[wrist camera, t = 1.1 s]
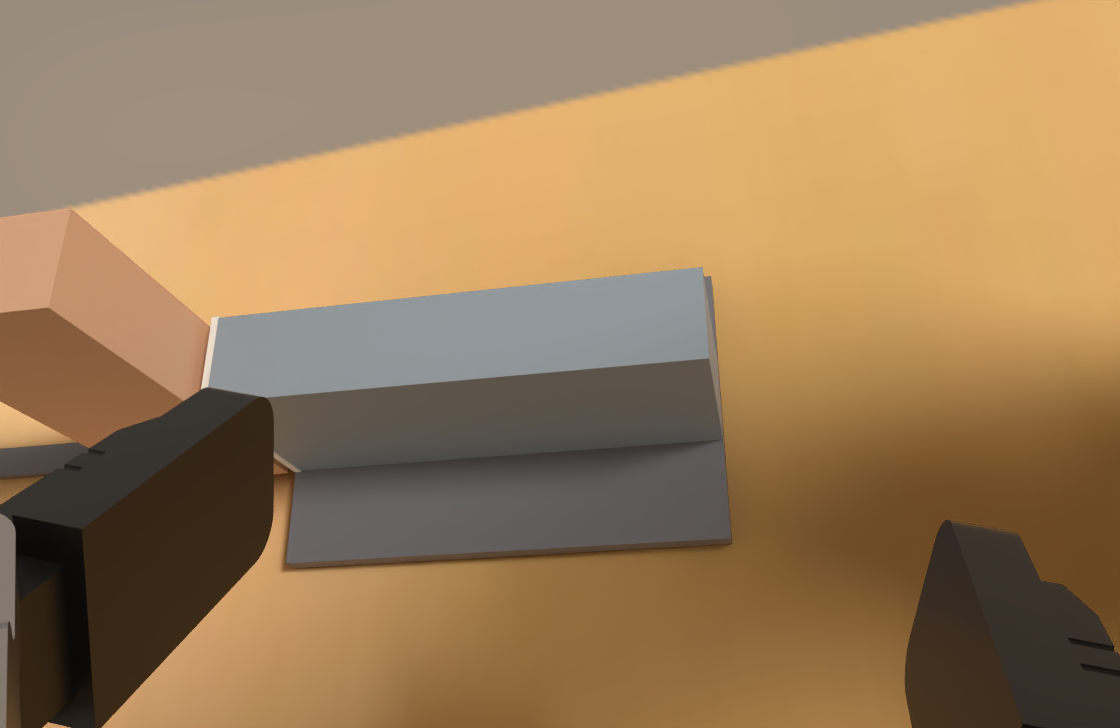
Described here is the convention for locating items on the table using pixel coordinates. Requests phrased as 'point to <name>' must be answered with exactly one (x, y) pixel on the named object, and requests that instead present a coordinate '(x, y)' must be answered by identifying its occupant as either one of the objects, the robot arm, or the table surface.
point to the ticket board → (491, 504)
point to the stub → (90, 331)
